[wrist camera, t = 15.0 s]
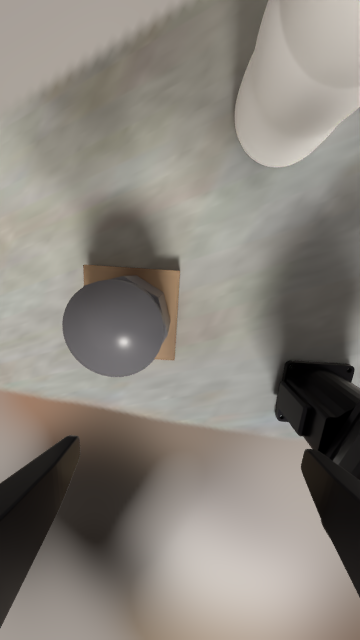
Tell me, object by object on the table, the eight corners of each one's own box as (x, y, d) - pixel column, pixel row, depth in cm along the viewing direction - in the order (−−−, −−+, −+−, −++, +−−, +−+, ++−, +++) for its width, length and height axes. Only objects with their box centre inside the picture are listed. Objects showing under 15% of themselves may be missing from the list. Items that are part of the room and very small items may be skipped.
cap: (84, 287, 17) (47, 293, 13) (157, 270, 17) (148, 268, 12) (107, 356, 19) (81, 385, 14) (175, 341, 18) (173, 366, 14)
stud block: (179, 270, 18) (179, 270, 14) (174, 355, 20) (172, 379, 16) (89, 265, 18) (58, 262, 14) (92, 350, 20) (66, 373, 15)
